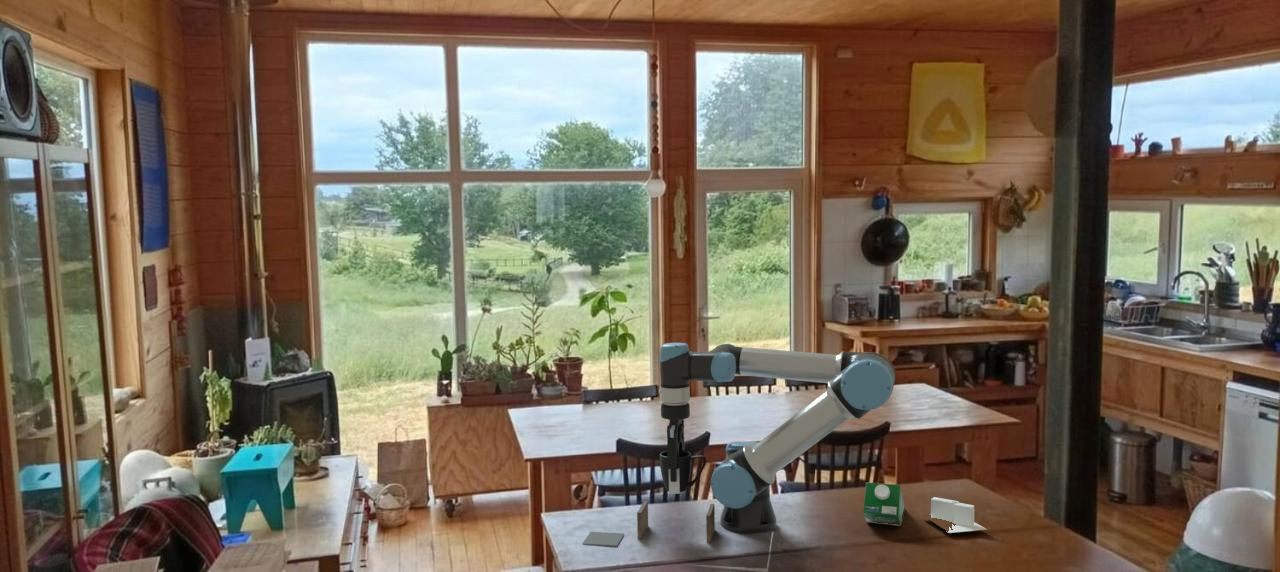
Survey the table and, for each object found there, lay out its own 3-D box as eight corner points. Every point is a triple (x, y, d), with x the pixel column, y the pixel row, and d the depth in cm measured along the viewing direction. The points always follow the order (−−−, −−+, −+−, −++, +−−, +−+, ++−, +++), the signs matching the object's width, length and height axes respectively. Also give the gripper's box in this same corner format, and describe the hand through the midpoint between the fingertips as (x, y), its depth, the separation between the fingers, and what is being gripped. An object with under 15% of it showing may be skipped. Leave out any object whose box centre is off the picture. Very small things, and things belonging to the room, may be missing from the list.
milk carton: (904, 509, 264) (899, 482, 243) (903, 541, 260) (898, 515, 239) (872, 507, 267) (865, 479, 246) (871, 537, 263) (863, 512, 242)
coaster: (624, 535, 239) (624, 533, 239) (616, 547, 231) (616, 545, 230) (590, 533, 241) (590, 531, 241) (582, 545, 232) (582, 543, 232)
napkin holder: (919, 515, 253) (919, 495, 253) (956, 512, 256) (956, 492, 256) (949, 533, 239) (949, 511, 238) (987, 529, 241) (988, 508, 241)
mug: (706, 493, 234) (705, 457, 234) (659, 494, 235) (658, 457, 235) (706, 484, 242) (705, 449, 242) (661, 485, 243) (660, 449, 243)
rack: (714, 529, 243) (714, 503, 242) (710, 542, 233) (710, 515, 233) (644, 526, 246) (644, 500, 246) (637, 538, 237) (637, 512, 236)
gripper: (667, 394, 248) (668, 477, 250) (654, 410, 228) (656, 499, 229) (694, 395, 247) (696, 477, 248) (683, 410, 226) (685, 500, 228)
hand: (676, 488), depth 239 cm, fingers closed on mug, 8 cm apart
